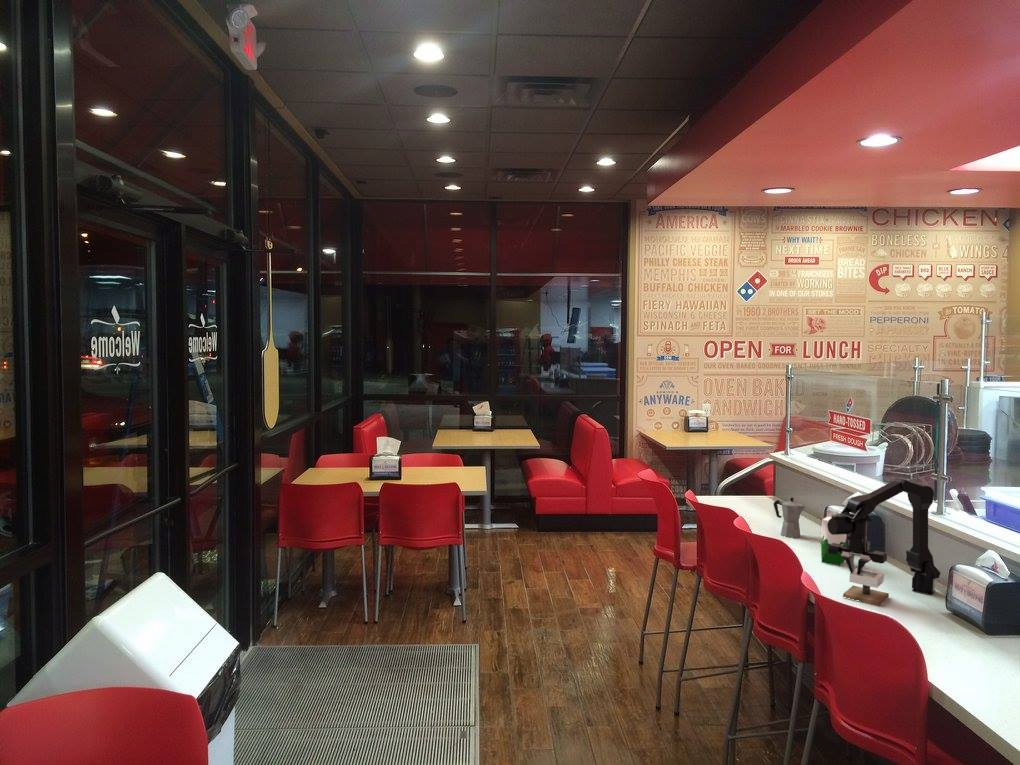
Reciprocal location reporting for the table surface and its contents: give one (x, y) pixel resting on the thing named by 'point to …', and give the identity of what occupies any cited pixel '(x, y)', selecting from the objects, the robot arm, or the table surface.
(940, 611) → the table surface
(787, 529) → the coffeepot
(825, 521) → the milk carton
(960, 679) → the table surface
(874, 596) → the board
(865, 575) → the white square frame
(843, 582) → the table surface
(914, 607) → the table surface
